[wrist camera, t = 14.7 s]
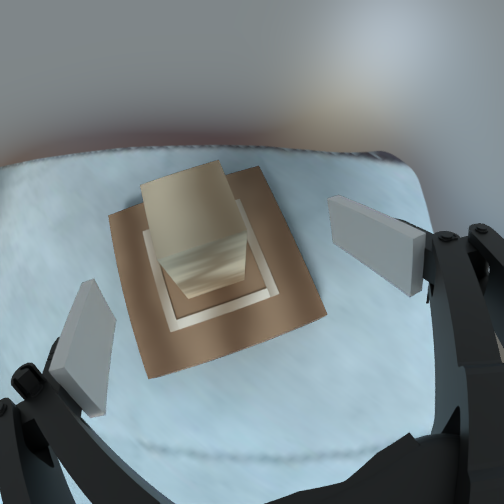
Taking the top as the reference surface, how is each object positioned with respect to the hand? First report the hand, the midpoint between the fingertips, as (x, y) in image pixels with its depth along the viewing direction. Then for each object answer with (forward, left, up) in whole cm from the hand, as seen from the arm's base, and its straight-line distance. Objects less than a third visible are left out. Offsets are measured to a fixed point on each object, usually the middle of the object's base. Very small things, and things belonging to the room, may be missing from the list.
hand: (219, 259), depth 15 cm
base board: (-1, +4, -13) cm, 14 cm away
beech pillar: (-1, +3, -10) cm, 11 cm away
